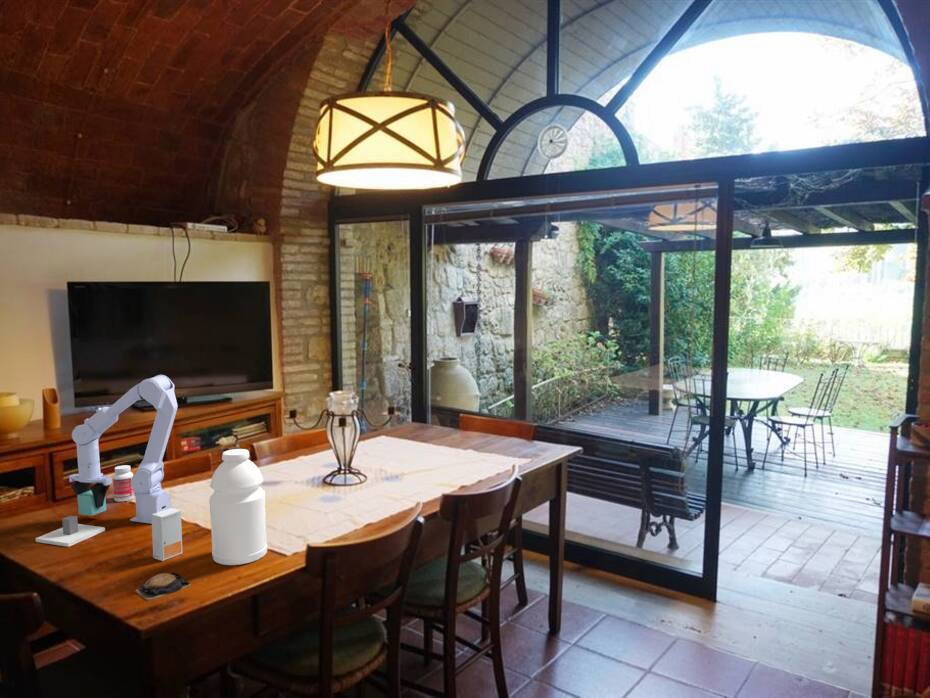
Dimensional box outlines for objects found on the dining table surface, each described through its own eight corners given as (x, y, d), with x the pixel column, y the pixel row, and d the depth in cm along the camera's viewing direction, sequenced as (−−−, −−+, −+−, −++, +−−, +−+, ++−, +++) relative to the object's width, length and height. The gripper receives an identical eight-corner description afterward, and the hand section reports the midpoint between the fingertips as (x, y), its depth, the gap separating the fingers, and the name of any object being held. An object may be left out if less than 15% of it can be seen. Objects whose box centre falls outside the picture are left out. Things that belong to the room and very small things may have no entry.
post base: (104, 530, 189) (103, 512, 189) (68, 546, 178) (67, 527, 177) (73, 526, 193) (71, 508, 192) (35, 541, 181) (34, 522, 181)
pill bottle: (135, 499, 216) (133, 467, 215) (115, 503, 213) (112, 470, 212) (133, 494, 221) (131, 463, 220) (113, 498, 218) (111, 466, 217)
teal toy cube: (106, 510, 200) (105, 491, 199) (92, 515, 195) (90, 496, 194) (93, 508, 201) (91, 489, 201) (78, 514, 196) (77, 495, 196)
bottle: (225, 544, 179) (220, 444, 176) (274, 544, 178) (270, 444, 175) (203, 566, 165) (197, 458, 162) (256, 566, 164) (252, 459, 161)
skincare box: (162, 561, 168) (160, 517, 166) (152, 558, 170) (150, 514, 169) (183, 553, 173) (181, 510, 172) (174, 550, 175) (171, 507, 174)
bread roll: (148, 604, 147) (147, 589, 146) (133, 592, 152) (132, 577, 152) (194, 587, 155) (193, 572, 154) (178, 576, 160) (177, 562, 160)
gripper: (118, 460, 198) (121, 503, 199) (81, 457, 202) (85, 499, 204) (99, 467, 191) (102, 511, 193) (61, 463, 196) (65, 507, 197)
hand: (92, 506), depth 198 cm, fingers closed on teal toy cube, 5 cm apart
